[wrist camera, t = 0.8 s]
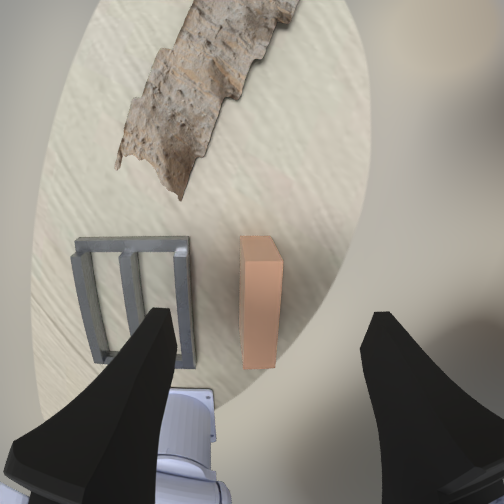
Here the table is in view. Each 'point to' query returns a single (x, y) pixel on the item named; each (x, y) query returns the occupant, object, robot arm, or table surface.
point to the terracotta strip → (259, 301)
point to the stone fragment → (197, 83)
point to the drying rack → (132, 289)
